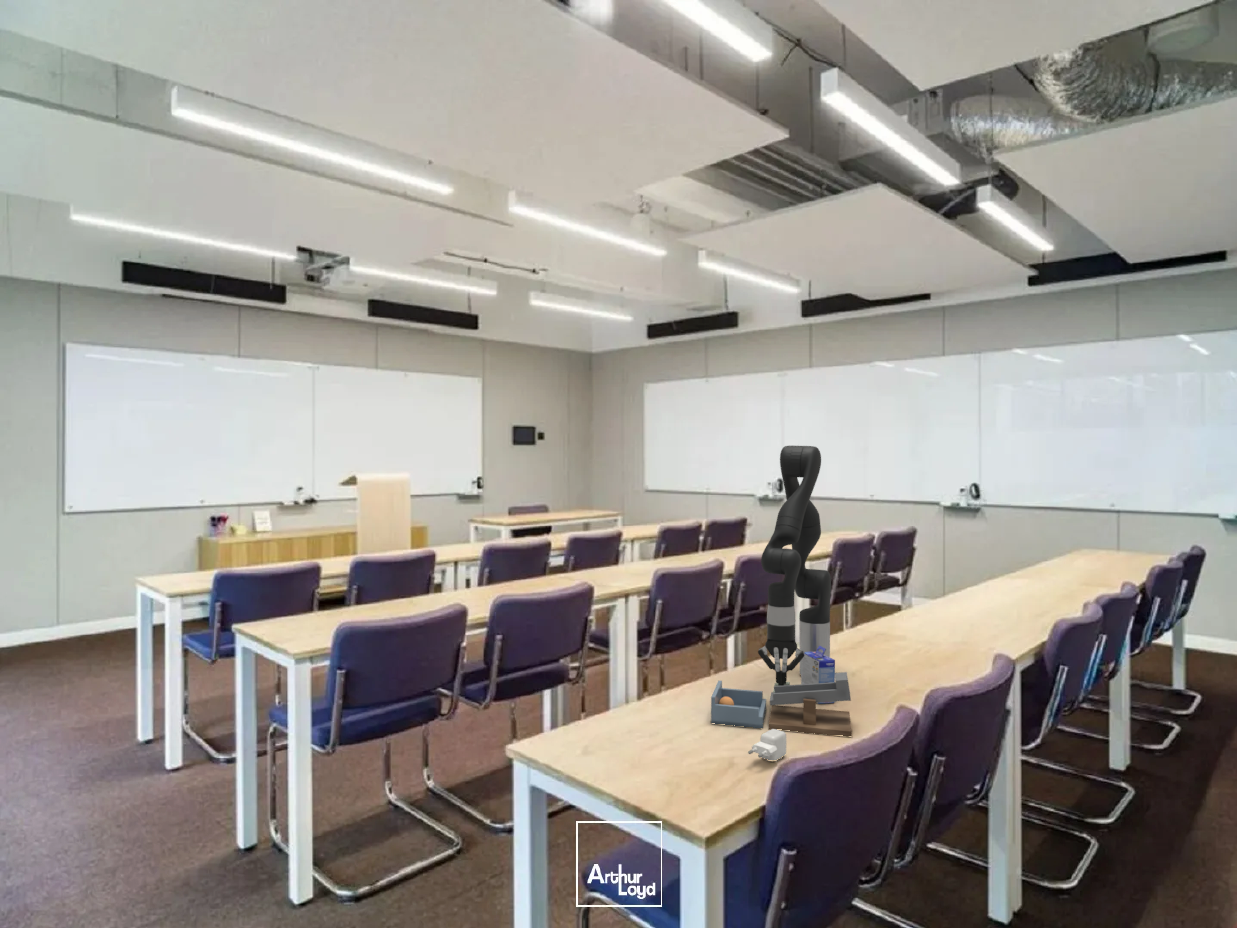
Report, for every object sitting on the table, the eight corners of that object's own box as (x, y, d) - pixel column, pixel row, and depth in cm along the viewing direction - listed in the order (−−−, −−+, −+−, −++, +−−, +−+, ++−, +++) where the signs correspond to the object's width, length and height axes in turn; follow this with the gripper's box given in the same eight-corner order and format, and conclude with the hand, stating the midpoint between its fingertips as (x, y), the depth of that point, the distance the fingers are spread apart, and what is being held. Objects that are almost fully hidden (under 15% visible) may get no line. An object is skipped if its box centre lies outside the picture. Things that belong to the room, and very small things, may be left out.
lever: (774, 690, 199) (770, 668, 199) (849, 686, 194) (845, 663, 194) (770, 709, 185) (767, 685, 185) (851, 705, 179) (847, 680, 179)
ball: (728, 712, 193) (716, 701, 194) (737, 701, 193) (726, 691, 193) (726, 717, 190) (714, 706, 190) (736, 706, 189) (724, 696, 190)
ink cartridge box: (836, 703, 200) (836, 651, 200) (818, 705, 199) (818, 653, 199) (817, 691, 210) (817, 642, 210) (800, 693, 209) (800, 643, 208)
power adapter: (763, 772, 157) (763, 746, 157) (744, 766, 161) (744, 740, 161) (789, 756, 166) (789, 731, 165) (770, 750, 169) (770, 726, 169)
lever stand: (772, 710, 195) (771, 682, 195) (849, 717, 190) (849, 688, 190) (768, 729, 182) (768, 699, 182) (851, 737, 176) (851, 706, 176)
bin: (718, 705, 199) (718, 680, 199) (766, 709, 196) (766, 684, 195) (711, 724, 186) (711, 697, 185) (762, 728, 182) (762, 701, 182)
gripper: (806, 619, 198) (806, 682, 198) (757, 617, 201) (757, 678, 202) (806, 626, 191) (805, 691, 191) (755, 623, 194) (755, 686, 194)
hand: (781, 684), depth 196 cm, fingers closed
